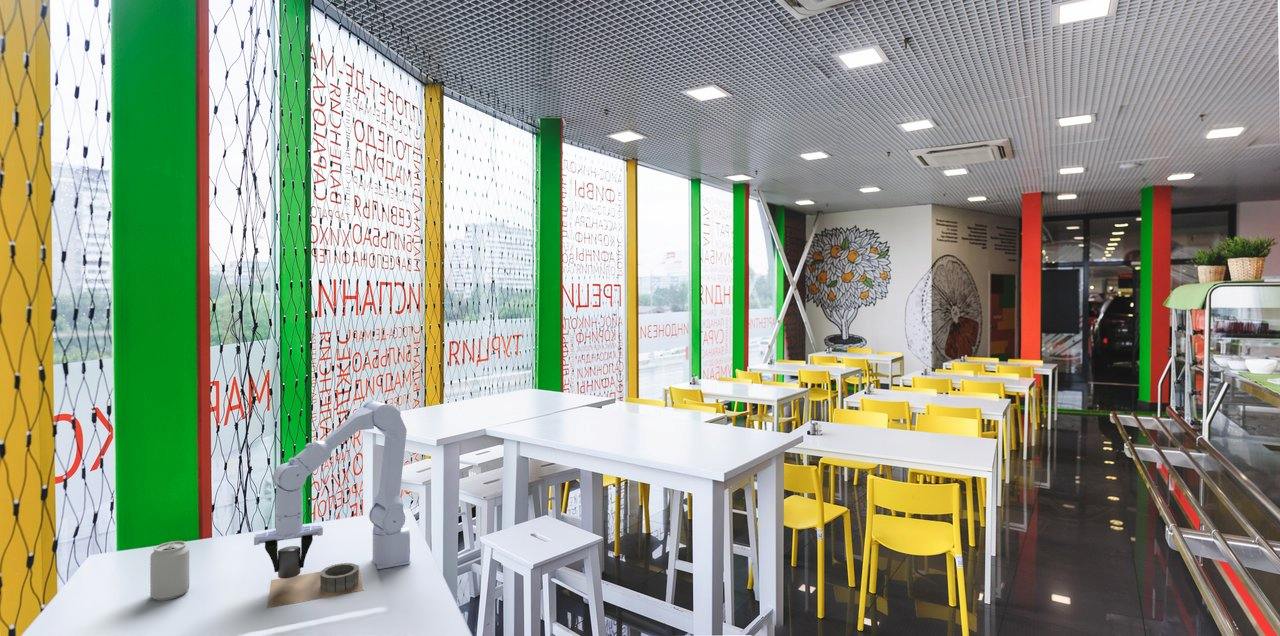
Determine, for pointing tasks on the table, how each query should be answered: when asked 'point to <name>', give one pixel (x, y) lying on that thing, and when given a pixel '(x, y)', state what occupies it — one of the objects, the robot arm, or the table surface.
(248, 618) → the table surface
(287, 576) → the dark gray cylinder
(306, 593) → the barrel mount
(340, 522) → the table surface
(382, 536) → the robot arm
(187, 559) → the can
